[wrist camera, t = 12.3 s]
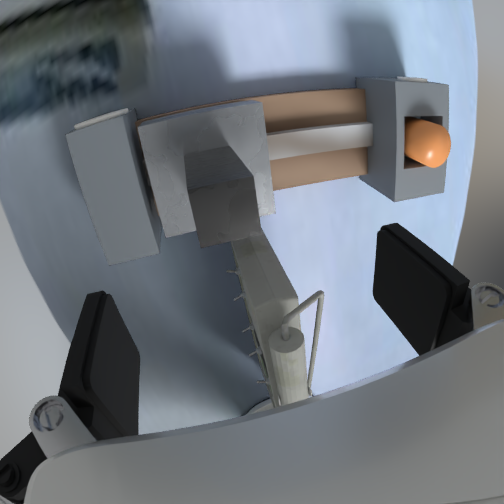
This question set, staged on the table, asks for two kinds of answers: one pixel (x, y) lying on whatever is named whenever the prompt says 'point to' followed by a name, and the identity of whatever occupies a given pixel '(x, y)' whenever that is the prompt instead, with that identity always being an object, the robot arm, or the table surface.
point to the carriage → (210, 171)
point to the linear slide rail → (139, 193)
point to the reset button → (426, 141)
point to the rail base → (309, 135)
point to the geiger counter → (275, 320)
